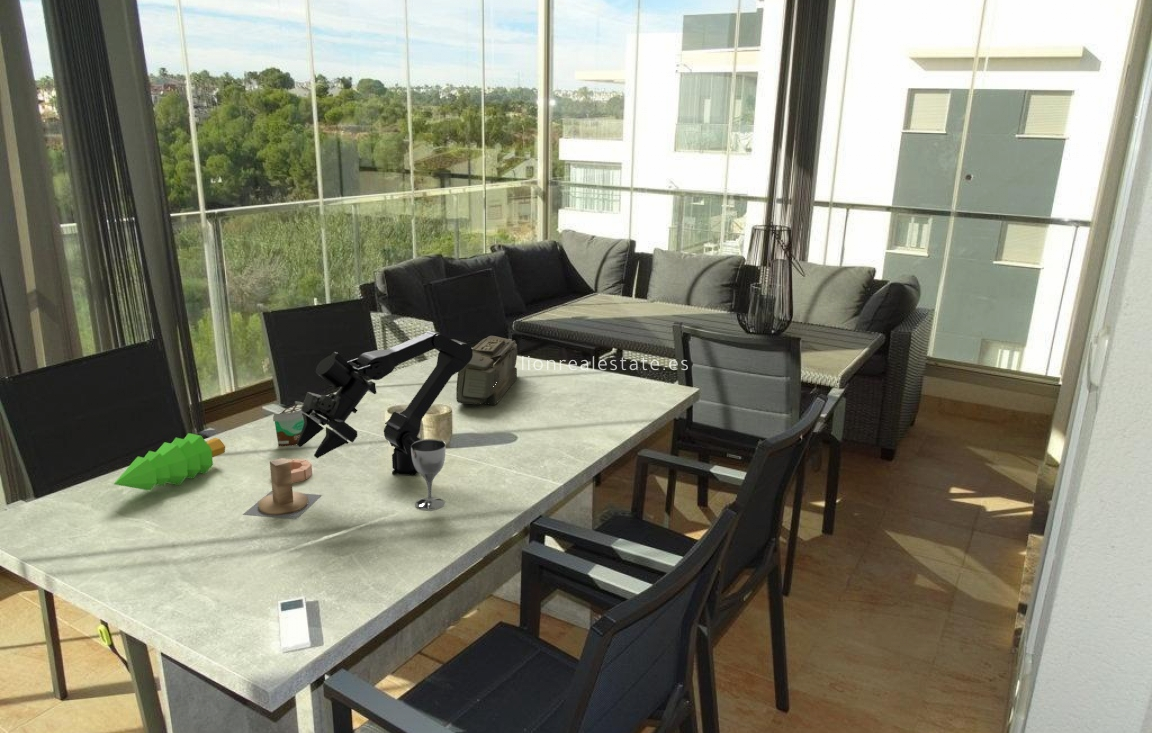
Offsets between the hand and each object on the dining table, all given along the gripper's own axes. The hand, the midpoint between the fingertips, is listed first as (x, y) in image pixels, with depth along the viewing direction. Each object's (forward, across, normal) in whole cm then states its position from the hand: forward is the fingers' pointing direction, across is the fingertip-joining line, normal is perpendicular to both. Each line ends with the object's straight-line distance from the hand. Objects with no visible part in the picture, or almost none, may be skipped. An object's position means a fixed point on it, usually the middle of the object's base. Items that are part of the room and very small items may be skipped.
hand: (306, 451), depth 187 cm
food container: (-1, -38, +19) cm, 43 cm away
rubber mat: (+13, 0, +4) cm, 14 cm away
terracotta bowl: (+7, -15, +10) cm, 19 cm away
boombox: (-52, -42, +69) cm, 96 cm away
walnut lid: (+13, 0, +4) cm, 13 cm away
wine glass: (-6, +21, +23) cm, 32 cm away
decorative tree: (+25, -30, -7) cm, 40 cm away
